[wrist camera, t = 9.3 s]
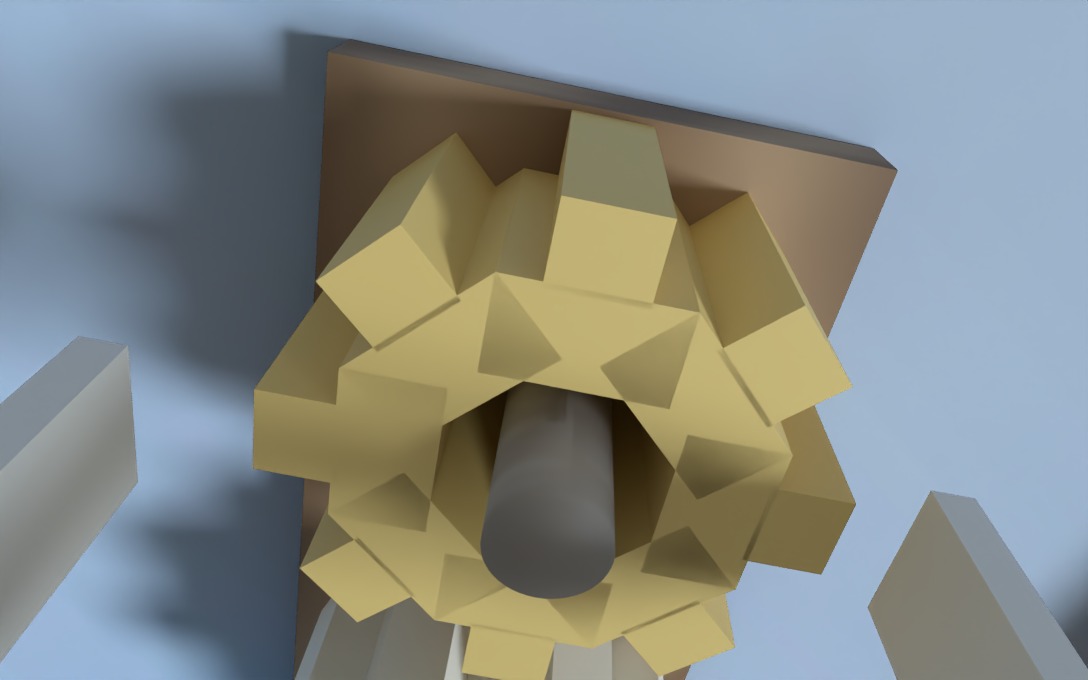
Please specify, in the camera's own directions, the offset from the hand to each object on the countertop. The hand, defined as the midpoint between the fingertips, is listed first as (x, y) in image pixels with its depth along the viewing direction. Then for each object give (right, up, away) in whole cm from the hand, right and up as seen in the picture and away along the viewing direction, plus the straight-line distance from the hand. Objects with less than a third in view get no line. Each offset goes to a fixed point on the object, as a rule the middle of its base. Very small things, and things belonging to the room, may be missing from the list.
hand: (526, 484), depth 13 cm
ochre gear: (+1, +2, +4) cm, 5 cm away
